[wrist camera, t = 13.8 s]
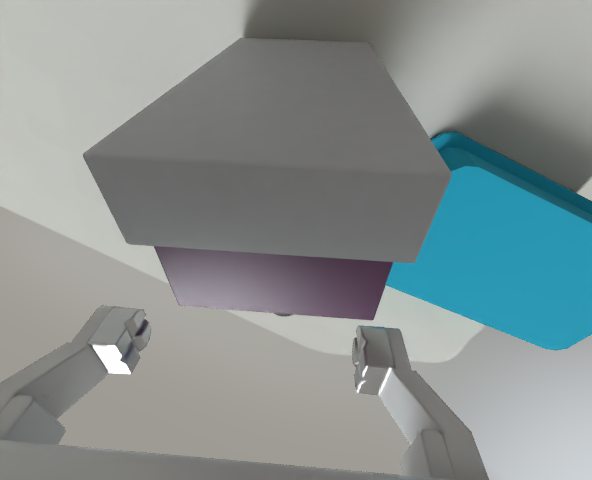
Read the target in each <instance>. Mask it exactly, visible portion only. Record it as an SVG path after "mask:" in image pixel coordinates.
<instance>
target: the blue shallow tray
mask: <svg viewBox="0 0 592 480" xmlns="http://www.w3.org/2000/svg"><path fill="white" fill-rule="evenodd" d="M431 141H432V143H433V145H434V146H435V148H436V149H437V151H438V152H439V154H440V156H441V157H442V159H443V160H444V162H445V163H446V165H447V167H448V168H449V170H450V171H451V178H450V181H449V183H448V186H447V188H446V190H445V193H444V195H443V197H442V200H441V202H440V205H439V207H438V209H437V212H436V214H435V216H434V219H433V221H432V224H431V226H430V228H429V231H428V233H427V235H426V238H425V240H424V243H423V245H422V247H421V250H420V252H419V254H418V257H417V259H416V262H415V263H399V262H393V265H392V268H391V271H390V273H389V276H388V279H387V282H386V285H387V286H389V287H392V288H394V289H397V290H399V291H402V292H404V293H407V294H409V295H412V296H414V297H417V298H419V299H422V300H424V301H427V302H429V303H432V304H434V305H437V306H439V307H442V308H444V309H447V310H449V311H452V312H454V313H457V314H459V315H462V316H464V317H467V318H469V319H472V320H474V321H477V322H479V323H482V324H484V325H487V326H489V327H492V328H495V329H497V330H499V331H502V332H505V333H507V334H510V335H512V336H515V337H517V338H520V339H522V340H525V341H527V342H530V343H532V344H535V345H537V346H540V347H542V348H545V349H550V350H561V349H566V348H568V347H570V346H572V345H574V344H576V343H577V342H579V341H581V340H583V339H584V338H586V337H588V336H590V335H591V334H592V201H590V200H588V199H586V198H584V197H582V196H581V195H579V194H577V193H575V192H573V191H571V190H569V189H567V188H565V187H563V186H561V185H559V184H557V183H555V182H553V181H551V180H549V179H548V178H546V177H544V176H542V175H540V174H538V173H536V172H534V171H532V170H530V169H528V168H526V167H524V166H522V165H520V164H518V163H516V162H514V161H513V160H511V159H509V158H507V157H505V156H503V155H501V154H499V153H497V152H495V151H493V150H491V149H489V148H487V147H485V146H483V145H481V144H479V143H477V142H476V141H474V140H472V139H470V138H468V137H466V136H464V135H462V134H460V133H458V132H444V133H441V134H439V135H438V136H436V137H434V138H433V139H431Z"/></svg>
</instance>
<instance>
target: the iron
mask: <svg viewBox="0 0 592 480" xmlns="http://www.w3.org/2000/svg"><path fill="white" fill-rule="evenodd" d="M83 157H84V159H85V161H86V163H87V165H88V167H89V169H90V171H91V173H92V175H93V177H94V179H95V181H96V183H97V185H98V187H99V189H100V191H101V193H102V195H103V197H104V199H105V201H106V203H107V205H108V207H109V209H110V211H111V213H112V215H113V217H114V219H115V221H116V223H117V225H118V227H119V229H120V231H121V233H122V235H123V237H124V239H125V241H126V243H128V244H131V245H146V246H154V248H155V250H156V252H157V255H158V257H159V259H160V262H161V264H162V267H163V269H164V271H165V274H166V276H167V278H168V281H169V283H170V286H171V288H172V290H173V292H174V295H175V297H176V299H177V302H178V304H179V305H180V306H192V307H204V308H217V309H230V310H243V311H256V312H270V313H274V314H276V315H278V316H290V315H293V314H296V315H309V316H322V317H335V318H348V319H361V320H373V319H374V316H375V314H376V311H377V308H378V305H379V302H380V299H381V296H382V293H383V291H384V288H385V285H386V282H387V279H388V276H389V273H390V271H391V268H392V265H393V262H399V263H415V262H416V259H417V257H418V254H419V252H420V250H421V247H422V245H423V243H424V240H425V238H426V235H427V233H428V231H429V228H430V226H431V224H432V221H433V219H434V216H435V214H436V212H437V209H438V207H439V205H440V202H441V200H442V197H443V195H444V193H445V190H446V188H447V186H448V183H449V181H450V178H451V171H450V170H449V168H448V167H447V165H446V163H445V162H444V160H443V159H442V157H441V156H440V154H439V152H438V151H437V149H436V148H435V146H434V145H433V143H432V141H431V140H430V138H429V137H428V135H427V133H426V132H425V130H424V129H423V127H422V126H421V124H420V122H419V121H418V119H417V118H416V116H415V115H414V113H413V111H412V110H411V108H410V107H409V105H408V103H407V102H406V100H405V99H404V97H403V96H402V94H401V92H400V91H399V89H398V88H397V86H396V85H395V83H394V81H393V80H392V78H391V77H390V75H389V73H388V72H387V70H386V69H385V67H384V66H383V64H382V62H381V61H380V59H379V58H378V56H377V54H376V53H375V51H374V50H373V48H372V47H371V45H370V43H368V42H342V41H313V40H284V39H255V38H240V39H239V40H237V41H236V42H234V43H233V44H232V45H230V46H229V47H228V48H226V49H225V50H224V51H222V52H221V53H220V54H218V55H217V56H215V57H214V58H213V59H211V60H210V61H209V62H207V63H206V64H205V65H203V66H202V67H200V68H199V69H198V70H196V71H195V72H194V73H192V74H191V75H190V76H188V77H187V78H185V79H184V80H183V81H181V82H180V83H179V84H177V85H176V86H175V87H173V88H172V89H170V90H169V91H168V92H166V93H165V94H164V95H162V96H161V97H160V98H158V99H157V100H156V101H154V102H153V103H151V104H150V105H149V106H147V107H146V108H145V109H143V110H142V111H141V112H139V113H138V114H136V115H135V116H134V117H132V118H131V119H130V120H128V121H127V122H126V123H124V124H123V125H121V126H120V127H119V128H117V129H116V130H115V131H113V132H112V133H111V134H109V135H108V136H107V137H105V138H104V139H102V140H101V141H100V142H98V143H97V144H96V145H94V146H93V147H92V148H90V149H89V150H87V151H86V152H85V153H84V154H83Z"/></svg>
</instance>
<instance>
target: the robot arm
mask: <svg viewBox="0 0 592 480" xmlns="http://www.w3.org/2000/svg"><path fill="white" fill-rule="evenodd" d="M145 316H146V313H145V311H144V309H135V308H125V307H115V306H103V305H102V306H100V307H99V308H98V309H97V310H96V311H95V312H94V313H93V315H92V316H91V317H90V319H89V320H88V321H87V322H86V324H85V325H84V326H83V328H82V329H81V330H80V332H79V333H78V334H77V335H76V337H75V338H74V339H73V341H72V342H71V343H65V344H64V345H62V346H60V347H59V348H57V349H55V350H54V351H52V352H51V353H49V354H47V355H45V356H44V357H42V358H40V359H39V360H37V361H36V362H34V363H33V364H31V365H29V366H27V367H26V368H24V369H22V370H21V371H19V372H17V373H16V374H14V375H13V376H11V377H9V378H7V379H6V380H4V381H2V382H1V383H0V480H489V478H488V476H487V473H486V471H485V468H484V465H483V462H482V459H481V457H480V454H479V451H478V449H477V446H476V444H475V441H474V438H473V435H472V433H471V431H470V430H469V429H468V428H467V427H466V426H465V425H464V423H463V422H462V421H461V420H460V419H459V418H458V417H457V416H456V415H455V414H454V412H452V410H451V409H450V408H449V407H448V406H447V405H446V404H445V403H444V402H443V400H442V399H441V398H440V397H439V396H438V395H437V394H436V393H435V392H434V391H433V390H432V388H431V387H430V386H429V385H428V384H427V383H426V382H425V381H424V379H423V378H422V377H421V376H420V375H419V374H418V373H417V372H416V371H412V370H411V366H410V363H409V359H408V355H407V352H406V348H405V345H404V341H403V337H402V334H401V331H400V330H399V329H397V328H384V327H372V326H358V327H357V330H356V335H357V337H356V338H354V341H353V348H352V358H353V364H354V365H355V367H356V371H355V374H354V377H355V387H356V393H362V394H371V395H380V396H379V397H380V399H381V400H382V402H383V403H384V405H385V406H386V408H387V409H388V411H389V413H390V414H391V415H392V417H393V419H394V420H395V422H396V423H397V425H398V426H399V428H400V429H401V431H402V432H403V434H404V435H405V437H406V438H407V440H408V442H409V443H410V444H411V446H410V447H409V449H408V450H407V451H406V453H405V454H404V455H403V457H402V458H401V459H400V465H401V470H402V475H395V474H384V473H373V472H362V471H350V470H339V469H327V468H316V467H305V466H294V465H281V464H271V463H259V462H248V461H237V460H225V459H214V458H202V457H191V456H180V455H168V454H157V453H146V452H134V451H122V450H112V449H100V448H88V447H78V446H66V445H58V443H59V442H60V440H61V438H62V437H63V435H64V433H65V427H64V426H63V425H62V424H61V423H60V422H59V421H58V420H57V418H58V417H60V416H61V415H62V414H63V413H64V412H65V411H66V410H68V409H69V408H70V407H71V406H72V405H74V404H75V403H76V402H77V401H78V400H79V399H80V398H81V397H83V396H84V395H85V394H86V393H87V392H88V391H90V390H91V389H92V388H93V387H94V386H96V385H97V384H98V383H99V382H100V381H101V380H103V379H104V378H105V377H106V376H107V375H108V373H119V374H132V372H133V370H134V368H135V366H136V364H137V363H138V361H139V359H140V354H139V351H141V350H142V349H143V348H145V347H146V345H147V343H148V342H149V339H150V335H151V326H150V323H149V322H148V321H147V320H145V319H144V318H145Z"/></svg>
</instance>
